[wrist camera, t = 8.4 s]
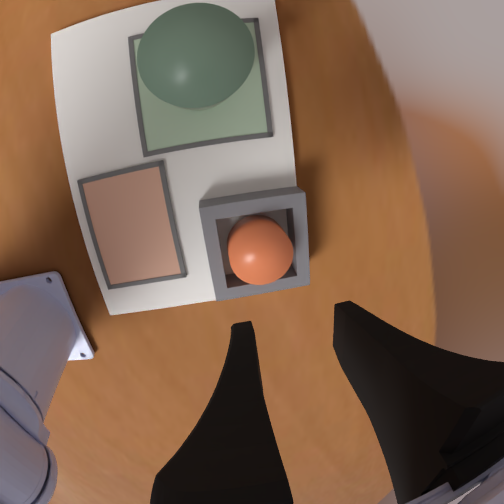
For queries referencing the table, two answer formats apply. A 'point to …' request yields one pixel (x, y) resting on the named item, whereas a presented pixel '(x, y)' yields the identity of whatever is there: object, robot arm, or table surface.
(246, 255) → the button
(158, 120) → the picture board
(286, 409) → the table surface
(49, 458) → the robot arm
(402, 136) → the table surface
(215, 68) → the green rounded cylinder
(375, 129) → the table surface
